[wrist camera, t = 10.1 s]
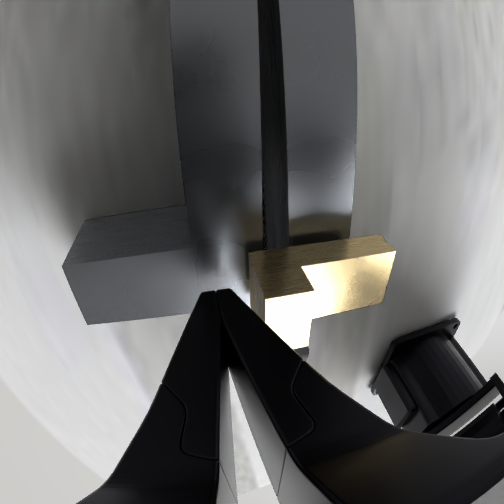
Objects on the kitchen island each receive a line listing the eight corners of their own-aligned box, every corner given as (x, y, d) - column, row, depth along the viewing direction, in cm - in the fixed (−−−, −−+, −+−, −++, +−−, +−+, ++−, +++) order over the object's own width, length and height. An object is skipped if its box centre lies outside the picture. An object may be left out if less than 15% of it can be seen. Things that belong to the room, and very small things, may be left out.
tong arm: (291, -133, 4) (322, -168, 1) (309, 320, 16) (331, 366, 13) (184, -136, 3) (189, -179, 1) (233, 336, 15) (244, 387, 13)
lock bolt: (379, 234, 9) (414, 270, 8) (368, 284, 11) (396, 322, 9) (248, 252, 9) (265, 299, 7) (250, 306, 10) (265, 354, 8)
